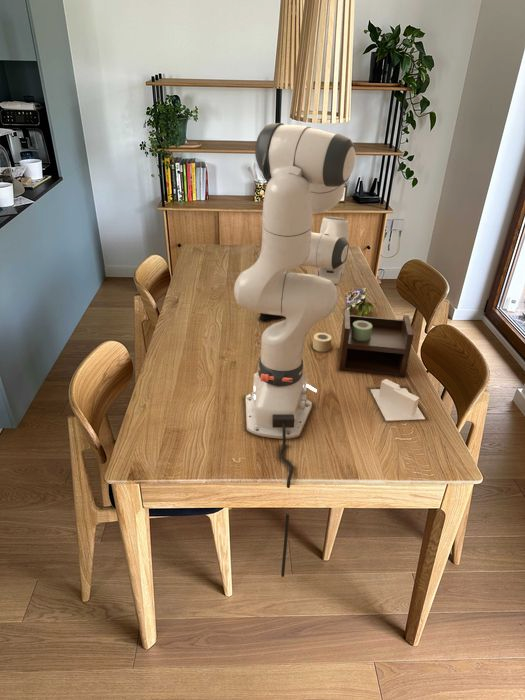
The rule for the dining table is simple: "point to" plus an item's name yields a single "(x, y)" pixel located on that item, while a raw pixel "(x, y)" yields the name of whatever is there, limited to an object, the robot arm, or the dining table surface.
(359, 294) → the passion flower
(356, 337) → the sage tape roll
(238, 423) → the dining table surface
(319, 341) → the cream tape roll
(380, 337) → the shelf
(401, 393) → the napkin holder
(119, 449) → the dining table surface
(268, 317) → the film camera
